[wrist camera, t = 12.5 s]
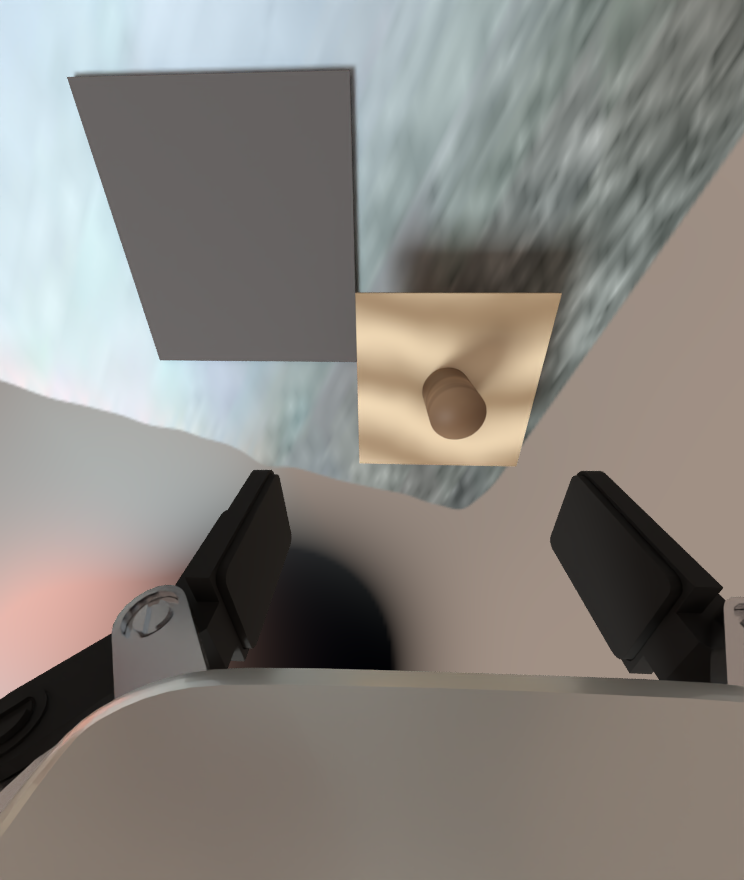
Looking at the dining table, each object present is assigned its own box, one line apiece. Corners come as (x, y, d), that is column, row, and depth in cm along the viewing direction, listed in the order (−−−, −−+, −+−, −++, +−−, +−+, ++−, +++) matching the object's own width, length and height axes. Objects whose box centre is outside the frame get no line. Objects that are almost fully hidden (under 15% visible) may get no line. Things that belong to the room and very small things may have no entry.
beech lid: (356, 292, 24) (348, 299, 19) (556, 292, 23) (603, 299, 18) (360, 458, 31) (355, 496, 26) (513, 461, 31) (538, 500, 26)
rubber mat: (73, 80, 23) (67, 76, 22) (350, 74, 22) (349, 70, 21) (163, 358, 32) (160, 360, 32) (357, 360, 31) (356, 361, 31)
